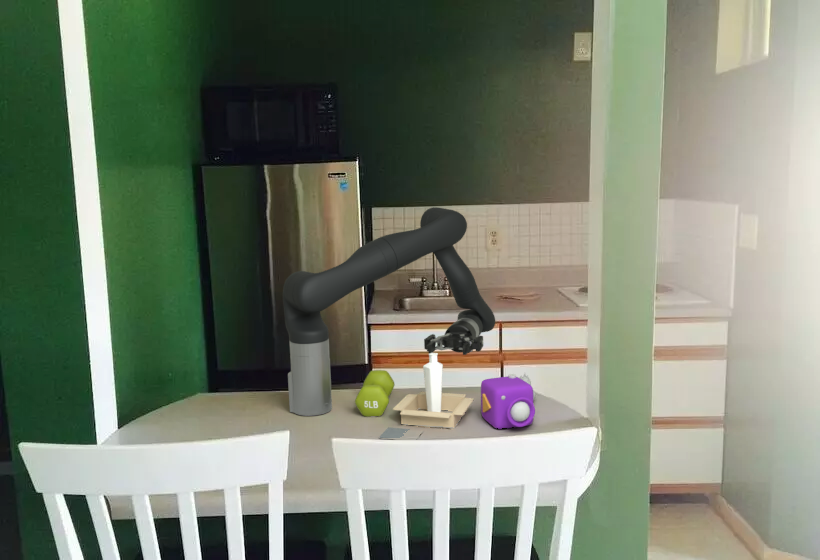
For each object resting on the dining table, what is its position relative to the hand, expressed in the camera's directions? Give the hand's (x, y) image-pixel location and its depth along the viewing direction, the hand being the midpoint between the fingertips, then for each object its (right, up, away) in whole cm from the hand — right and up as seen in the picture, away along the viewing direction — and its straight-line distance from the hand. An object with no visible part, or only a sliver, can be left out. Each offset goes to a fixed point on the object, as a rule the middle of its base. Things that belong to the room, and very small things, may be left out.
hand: (446, 350), depth 169 cm
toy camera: (+13, -15, -14) cm, 25 cm away
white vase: (-3, -15, -9) cm, 18 cm away
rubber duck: (+18, -13, 0) cm, 23 cm away
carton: (-3, -15, -9) cm, 17 cm away
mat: (-11, -16, -19) cm, 27 cm away
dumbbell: (-17, -14, +1) cm, 22 cm away
